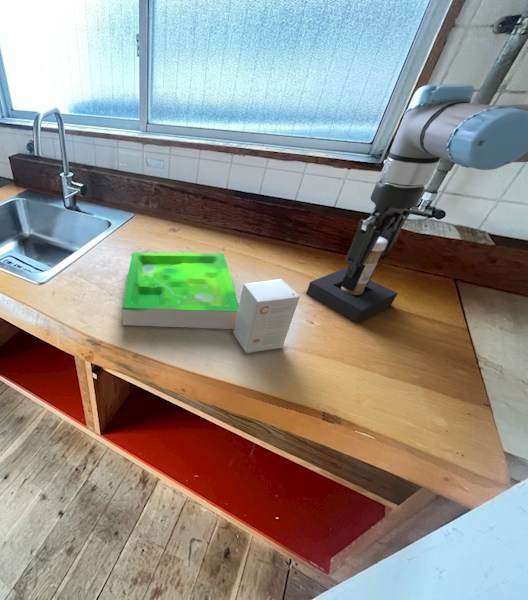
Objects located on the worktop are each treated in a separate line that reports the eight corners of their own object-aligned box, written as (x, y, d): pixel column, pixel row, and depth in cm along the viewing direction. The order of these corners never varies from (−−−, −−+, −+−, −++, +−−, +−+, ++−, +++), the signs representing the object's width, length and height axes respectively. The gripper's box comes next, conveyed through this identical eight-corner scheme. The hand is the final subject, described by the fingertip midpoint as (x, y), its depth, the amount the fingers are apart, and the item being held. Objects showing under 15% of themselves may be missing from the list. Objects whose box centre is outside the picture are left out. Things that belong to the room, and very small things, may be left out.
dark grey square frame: (391, 305, 75) (398, 293, 73) (355, 323, 70) (362, 310, 68) (339, 279, 84) (344, 267, 82) (305, 293, 80) (310, 281, 77)
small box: (267, 328, 70) (282, 277, 62) (283, 348, 65) (301, 296, 57) (232, 333, 69) (242, 282, 61) (245, 354, 64) (258, 302, 56)
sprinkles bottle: (355, 284, 77) (378, 233, 69) (367, 295, 74) (393, 242, 66) (336, 285, 77) (358, 234, 69) (347, 296, 74) (371, 243, 66)
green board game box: (221, 269, 90) (223, 253, 87) (236, 329, 70) (240, 311, 67) (132, 267, 92) (132, 252, 90) (123, 325, 73) (122, 307, 70)
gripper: (406, 170, 66) (362, 268, 80) (352, 185, 60) (314, 287, 74) (449, 179, 61) (393, 282, 75) (394, 196, 55) (344, 304, 69)
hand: (354, 284), depth 74 cm, fingers closed on sprinkles bottle, 4 cm apart
